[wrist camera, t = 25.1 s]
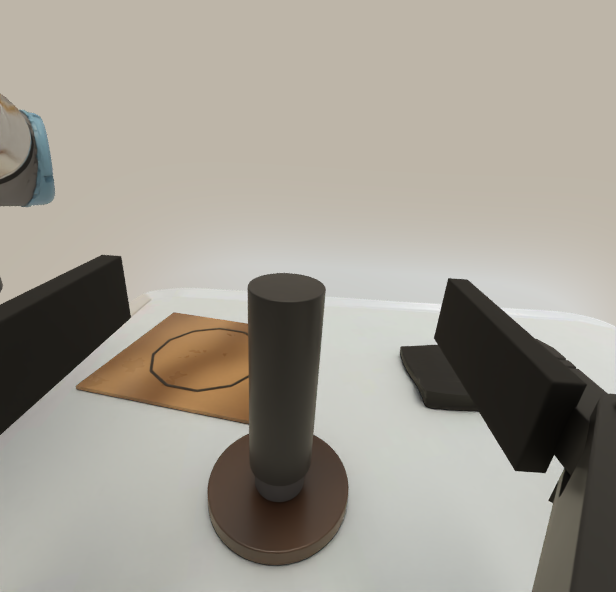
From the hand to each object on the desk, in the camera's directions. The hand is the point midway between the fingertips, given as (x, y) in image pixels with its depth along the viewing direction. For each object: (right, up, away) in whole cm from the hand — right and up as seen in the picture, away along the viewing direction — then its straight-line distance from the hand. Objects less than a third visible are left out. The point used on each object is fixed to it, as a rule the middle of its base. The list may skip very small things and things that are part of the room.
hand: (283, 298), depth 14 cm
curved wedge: (+16, -8, +17) cm, 25 cm away
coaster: (-1, -11, +6) cm, 13 cm away
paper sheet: (-8, -6, +18) cm, 21 cm away
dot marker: (-1, -11, +6) cm, 12 cm away
